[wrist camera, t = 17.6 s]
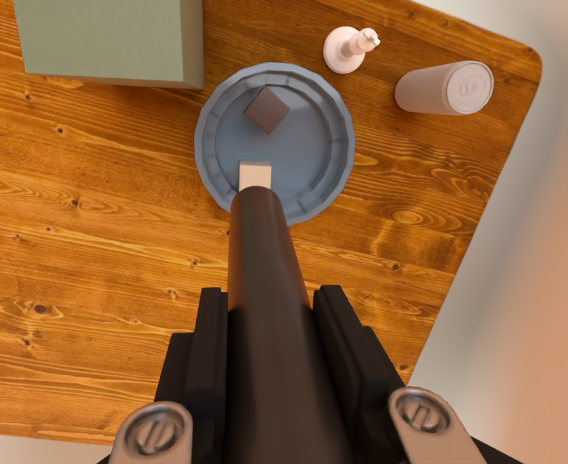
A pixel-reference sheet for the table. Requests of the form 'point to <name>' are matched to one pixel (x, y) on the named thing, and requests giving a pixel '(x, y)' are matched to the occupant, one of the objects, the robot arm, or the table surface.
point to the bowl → (277, 139)
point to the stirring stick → (274, 348)
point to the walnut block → (266, 110)
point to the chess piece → (348, 48)
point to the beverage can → (446, 89)
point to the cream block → (254, 174)
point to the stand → (114, 41)
